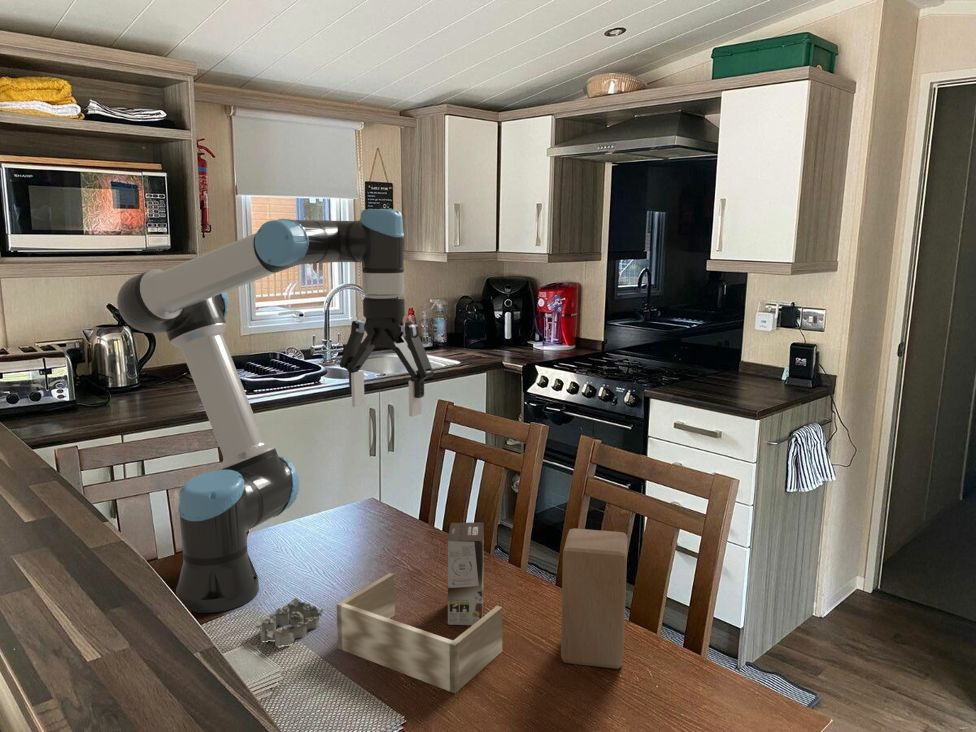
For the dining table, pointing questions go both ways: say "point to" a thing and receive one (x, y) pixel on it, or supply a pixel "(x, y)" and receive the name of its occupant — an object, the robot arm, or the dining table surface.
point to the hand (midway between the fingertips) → (386, 410)
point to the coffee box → (465, 573)
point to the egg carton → (297, 627)
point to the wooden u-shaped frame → (414, 639)
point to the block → (593, 598)
